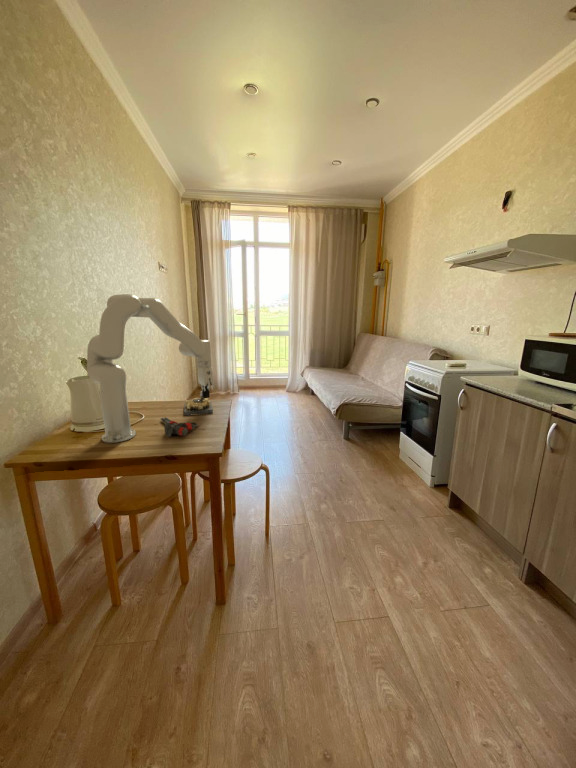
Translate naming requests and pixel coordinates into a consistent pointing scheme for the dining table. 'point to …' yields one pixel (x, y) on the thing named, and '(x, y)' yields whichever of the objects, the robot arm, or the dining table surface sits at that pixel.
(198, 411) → the base plate
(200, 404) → the beige lumpy block
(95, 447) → the dining table surface
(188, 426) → the grey red jointed piece
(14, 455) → the dining table surface
